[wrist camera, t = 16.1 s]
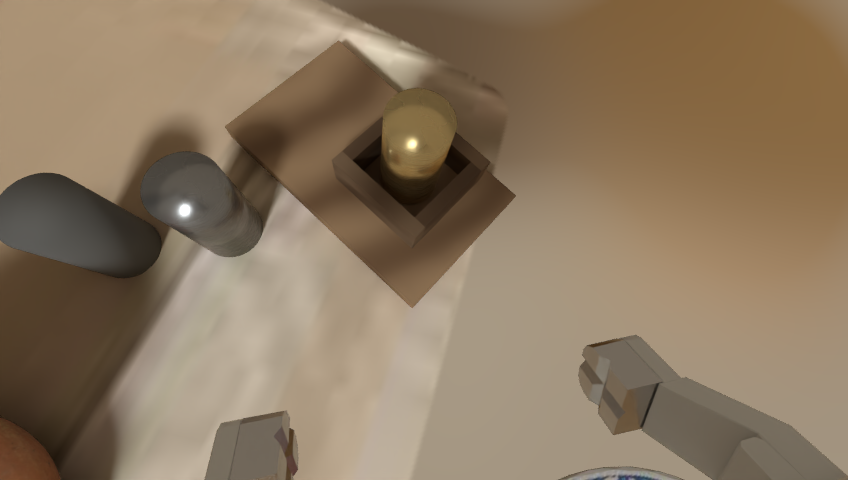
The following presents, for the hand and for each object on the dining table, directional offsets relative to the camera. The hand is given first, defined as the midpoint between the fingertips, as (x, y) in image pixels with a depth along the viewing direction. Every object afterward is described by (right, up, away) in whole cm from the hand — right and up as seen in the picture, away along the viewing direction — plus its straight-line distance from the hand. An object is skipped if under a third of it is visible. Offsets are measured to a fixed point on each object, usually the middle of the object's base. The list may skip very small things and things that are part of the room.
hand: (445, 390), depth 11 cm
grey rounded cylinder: (-22, +3, +18) cm, 29 cm away
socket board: (-5, +10, +22) cm, 24 cm away
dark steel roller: (-15, +5, +19) cm, 25 cm away
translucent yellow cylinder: (-2, +9, +20) cm, 22 cm away
